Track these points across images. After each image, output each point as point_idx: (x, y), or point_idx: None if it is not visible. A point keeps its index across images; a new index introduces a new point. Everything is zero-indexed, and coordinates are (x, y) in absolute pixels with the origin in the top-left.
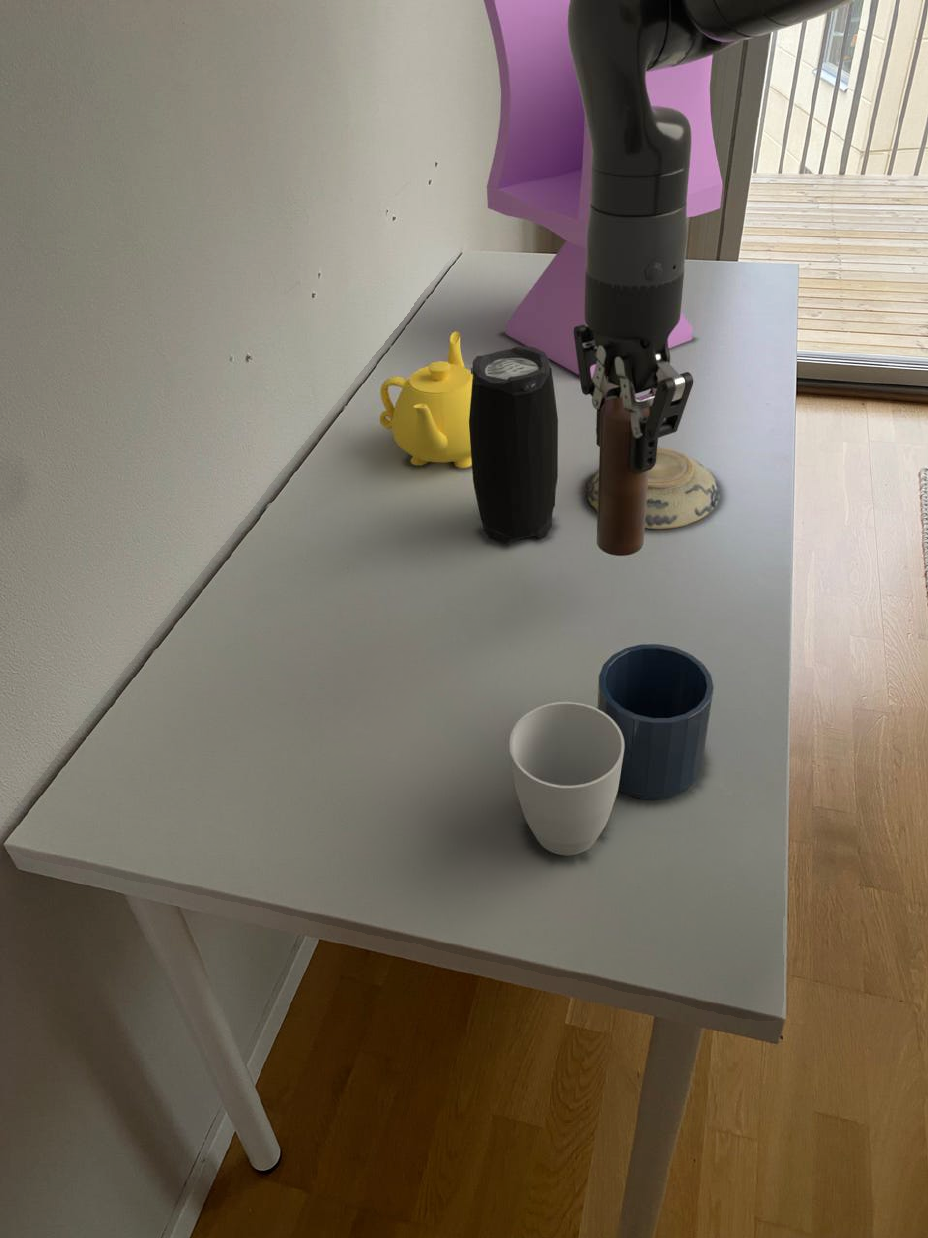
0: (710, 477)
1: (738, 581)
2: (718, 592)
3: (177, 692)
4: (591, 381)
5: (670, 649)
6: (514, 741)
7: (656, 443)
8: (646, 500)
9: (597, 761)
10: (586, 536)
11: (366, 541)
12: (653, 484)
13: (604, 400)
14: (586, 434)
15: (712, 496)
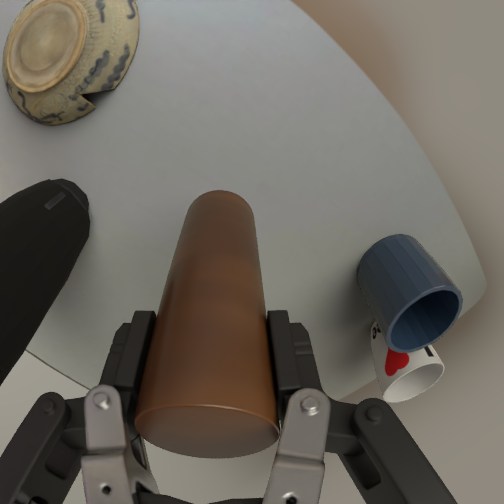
0: None
1: (270, 43)
2: (273, 76)
3: None
4: (81, 452)
5: (418, 298)
6: (386, 396)
7: (317, 374)
8: (247, 239)
9: None
10: (101, 153)
11: (60, 320)
12: (73, 60)
13: (141, 441)
14: None
15: None
